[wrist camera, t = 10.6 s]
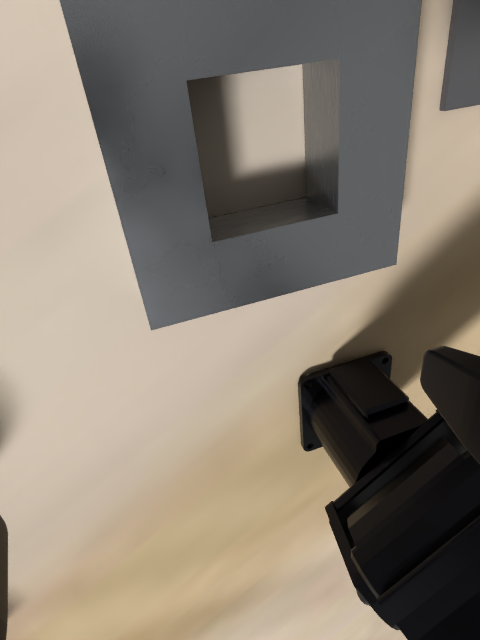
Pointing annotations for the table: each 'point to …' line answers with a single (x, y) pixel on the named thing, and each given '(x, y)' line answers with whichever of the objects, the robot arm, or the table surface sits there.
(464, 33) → the mat
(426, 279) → the table surface
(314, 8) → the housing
